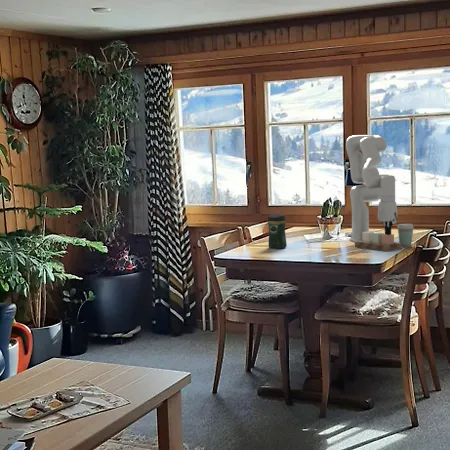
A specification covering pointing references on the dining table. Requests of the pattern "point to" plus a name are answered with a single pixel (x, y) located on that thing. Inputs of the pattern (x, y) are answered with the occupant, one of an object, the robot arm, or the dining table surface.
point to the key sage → (377, 237)
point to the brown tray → (378, 246)
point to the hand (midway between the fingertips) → (388, 234)
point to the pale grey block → (367, 236)
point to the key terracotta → (388, 239)
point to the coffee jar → (277, 231)
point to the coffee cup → (405, 234)
